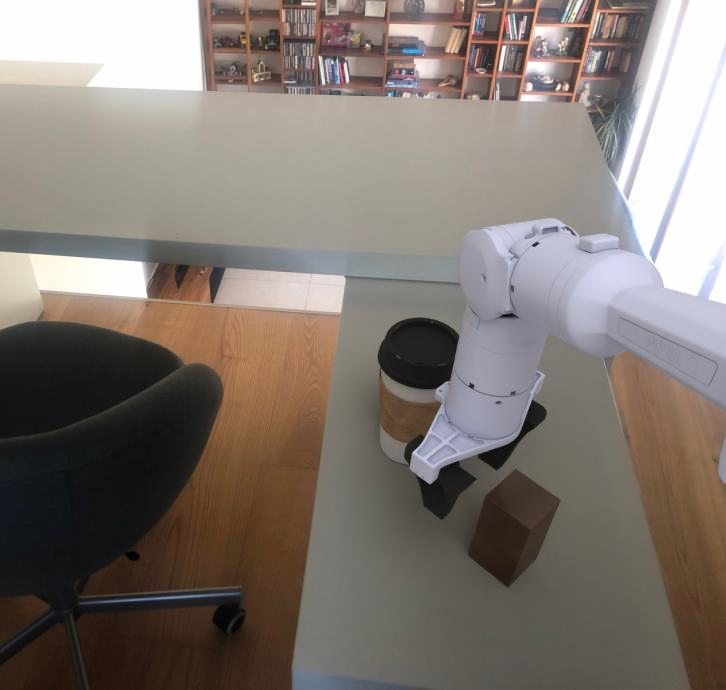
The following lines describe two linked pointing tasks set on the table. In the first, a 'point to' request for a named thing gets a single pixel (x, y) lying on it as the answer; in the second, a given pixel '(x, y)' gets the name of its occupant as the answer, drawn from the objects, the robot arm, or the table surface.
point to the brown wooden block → (512, 526)
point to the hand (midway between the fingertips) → (463, 485)
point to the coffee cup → (412, 380)
